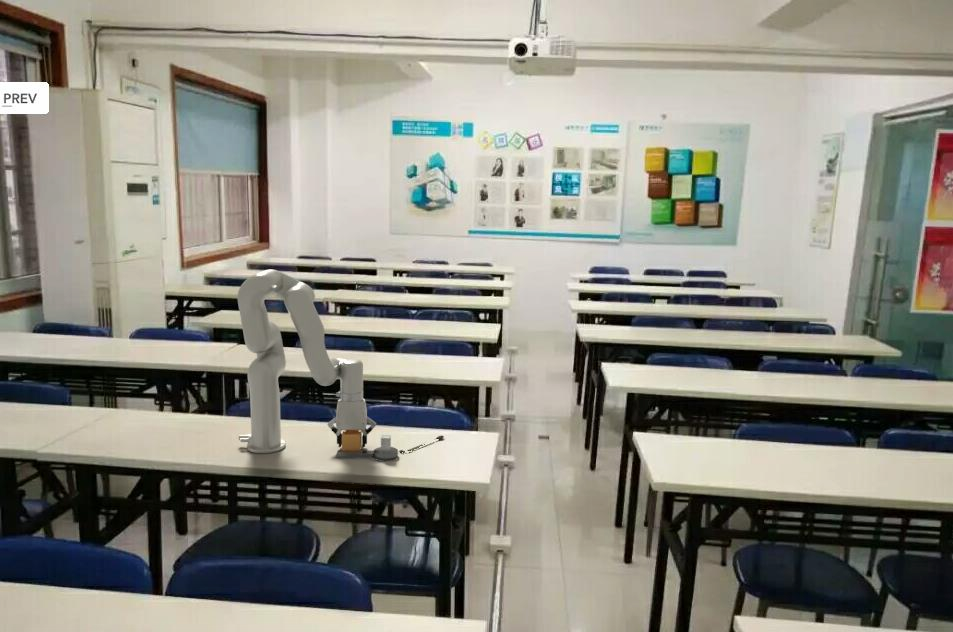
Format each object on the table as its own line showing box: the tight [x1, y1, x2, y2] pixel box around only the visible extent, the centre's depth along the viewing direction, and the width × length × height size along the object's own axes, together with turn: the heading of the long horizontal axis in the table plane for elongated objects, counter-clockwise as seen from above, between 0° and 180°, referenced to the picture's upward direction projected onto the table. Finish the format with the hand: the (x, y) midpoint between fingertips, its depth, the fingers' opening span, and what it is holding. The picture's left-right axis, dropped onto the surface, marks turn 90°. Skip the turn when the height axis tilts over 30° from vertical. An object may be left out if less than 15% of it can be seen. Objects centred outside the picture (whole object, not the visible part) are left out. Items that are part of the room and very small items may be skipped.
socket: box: [341, 430, 363, 451], centre depth 228 cm, size 6×6×6 cm
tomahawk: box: [398, 435, 445, 454], centre depth 232 cm, size 21×7×1 cm, turn 140°
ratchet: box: [336, 434, 399, 462], centre depth 221 cm, size 20×8×7 cm, turn 94°
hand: (352, 445), depth 228 cm, fingers open, 7 cm apart
